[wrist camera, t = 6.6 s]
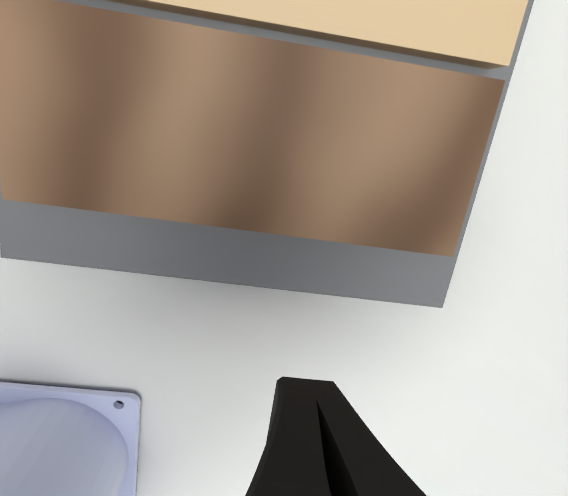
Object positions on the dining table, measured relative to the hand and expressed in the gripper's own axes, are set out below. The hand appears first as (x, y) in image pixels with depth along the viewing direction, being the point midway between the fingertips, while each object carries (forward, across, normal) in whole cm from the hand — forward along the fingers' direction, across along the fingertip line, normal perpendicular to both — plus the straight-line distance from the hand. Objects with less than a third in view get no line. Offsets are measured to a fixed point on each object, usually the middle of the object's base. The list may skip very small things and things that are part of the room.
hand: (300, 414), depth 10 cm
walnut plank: (+9, +2, -6) cm, 11 cm away
